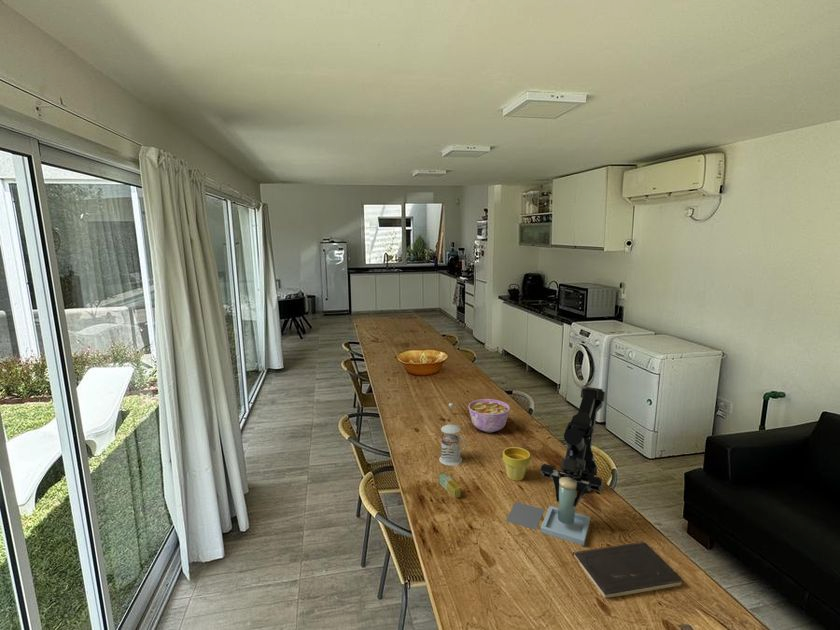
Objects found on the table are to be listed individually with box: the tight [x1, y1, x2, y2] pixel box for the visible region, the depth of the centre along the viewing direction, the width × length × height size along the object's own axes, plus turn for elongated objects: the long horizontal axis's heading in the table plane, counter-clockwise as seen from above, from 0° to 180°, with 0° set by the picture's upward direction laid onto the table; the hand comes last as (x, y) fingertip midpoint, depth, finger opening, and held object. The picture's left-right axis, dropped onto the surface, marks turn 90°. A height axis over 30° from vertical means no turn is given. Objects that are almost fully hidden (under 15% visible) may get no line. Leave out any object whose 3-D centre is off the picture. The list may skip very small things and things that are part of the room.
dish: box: [539, 505, 591, 548], centre depth 141 cm, size 13×13×2 cm
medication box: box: [438, 472, 462, 499], centre depth 162 cm, size 12×3×4 cm, turn 28°
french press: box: [438, 402, 467, 467], centre depth 182 cm, size 10×12×25 cm
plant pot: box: [502, 446, 531, 482], centre depth 171 cm, size 10×10×10 cm
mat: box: [505, 501, 545, 531], centre depth 147 cm, size 12×10×1 cm
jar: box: [557, 477, 577, 524], centre depth 139 cm, size 5×5×13 cm
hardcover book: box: [572, 541, 684, 599], centre depth 123 cm, size 16×23×2 cm
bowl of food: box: [468, 398, 511, 433], centre depth 213 cm, size 20×20×12 cm
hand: (566, 503), depth 138 cm, fingers closed on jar, 5 cm apart
